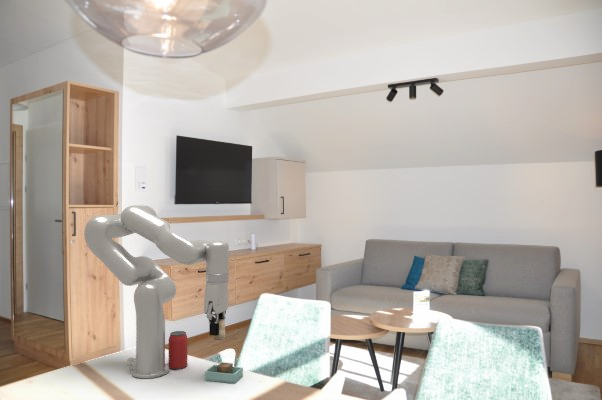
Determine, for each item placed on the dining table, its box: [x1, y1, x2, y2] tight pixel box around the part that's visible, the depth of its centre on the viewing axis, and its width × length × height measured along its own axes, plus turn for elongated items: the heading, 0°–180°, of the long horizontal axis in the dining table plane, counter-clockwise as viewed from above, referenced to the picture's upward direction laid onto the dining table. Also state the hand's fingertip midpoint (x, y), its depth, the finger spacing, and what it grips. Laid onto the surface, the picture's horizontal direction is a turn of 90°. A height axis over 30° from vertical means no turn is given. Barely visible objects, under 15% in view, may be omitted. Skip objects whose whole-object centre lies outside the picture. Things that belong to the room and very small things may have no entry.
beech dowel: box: [212, 319, 226, 341], centre depth 163 cm, size 4×4×6 cm
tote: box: [204, 364, 244, 385], centre depth 162 cm, size 10×7×3 cm, turn 75°
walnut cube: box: [216, 361, 234, 374], centre depth 162 cm, size 4×4×4 cm
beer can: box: [168, 330, 189, 370], centre depth 174 cm, size 7×7×12 cm
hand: (217, 332), depth 163 cm, fingers closed on beech dowel, 3 cm apart
